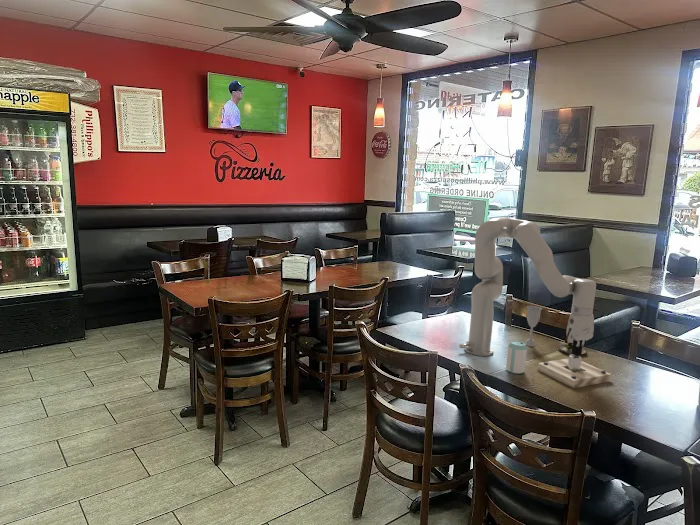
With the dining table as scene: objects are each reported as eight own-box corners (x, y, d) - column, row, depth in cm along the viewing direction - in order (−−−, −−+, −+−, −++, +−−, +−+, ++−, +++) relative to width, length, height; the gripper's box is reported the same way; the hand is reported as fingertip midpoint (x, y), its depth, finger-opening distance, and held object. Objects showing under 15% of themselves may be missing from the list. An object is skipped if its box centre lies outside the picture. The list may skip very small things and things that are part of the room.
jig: (573, 388, 183) (574, 379, 182) (537, 369, 199) (538, 361, 198) (610, 381, 191) (611, 372, 190) (572, 364, 207) (574, 356, 206)
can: (511, 366, 201) (514, 338, 199) (527, 371, 196) (530, 343, 194) (502, 370, 196) (505, 342, 194) (519, 376, 192) (522, 347, 189)
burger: (556, 353, 219) (558, 338, 218) (559, 346, 230) (561, 331, 228) (586, 359, 214) (588, 343, 213) (587, 351, 224) (589, 336, 223)
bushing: (573, 378, 192) (575, 359, 190) (564, 374, 196) (566, 355, 194) (581, 377, 194) (584, 357, 192) (572, 372, 198) (574, 353, 196)
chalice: (539, 347, 226) (544, 310, 222) (525, 346, 226) (529, 309, 222) (534, 342, 233) (538, 306, 229) (520, 341, 233) (524, 305, 230)
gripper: (576, 314, 183) (570, 360, 187) (603, 311, 189) (597, 356, 193) (560, 309, 190) (555, 353, 193) (587, 306, 196) (582, 349, 199)
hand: (576, 354), depth 193 cm, fingers closed
